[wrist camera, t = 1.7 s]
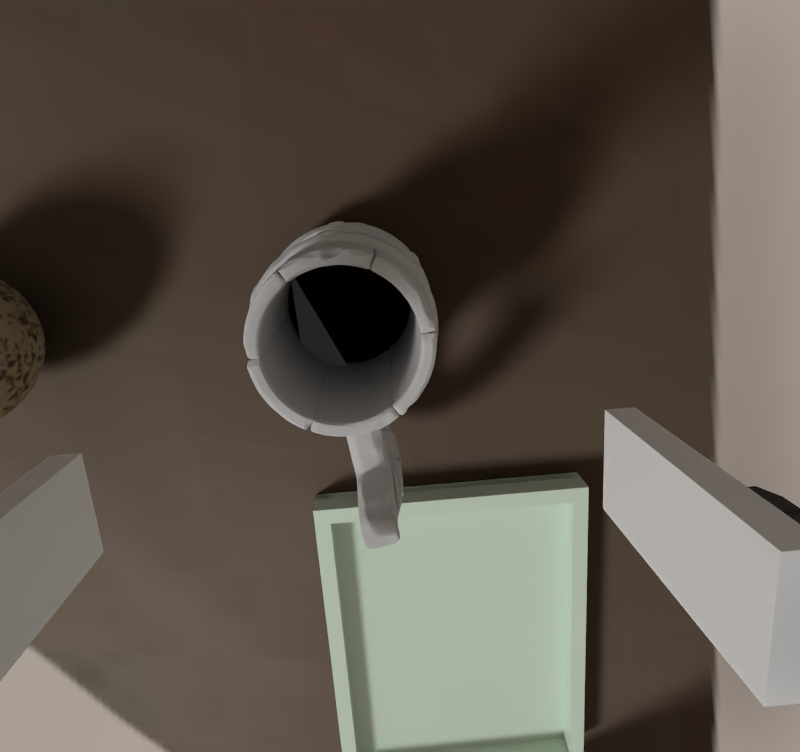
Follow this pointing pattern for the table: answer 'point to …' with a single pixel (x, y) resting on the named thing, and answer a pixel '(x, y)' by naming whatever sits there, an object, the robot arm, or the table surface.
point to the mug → (334, 378)
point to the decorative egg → (18, 348)
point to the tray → (460, 617)
